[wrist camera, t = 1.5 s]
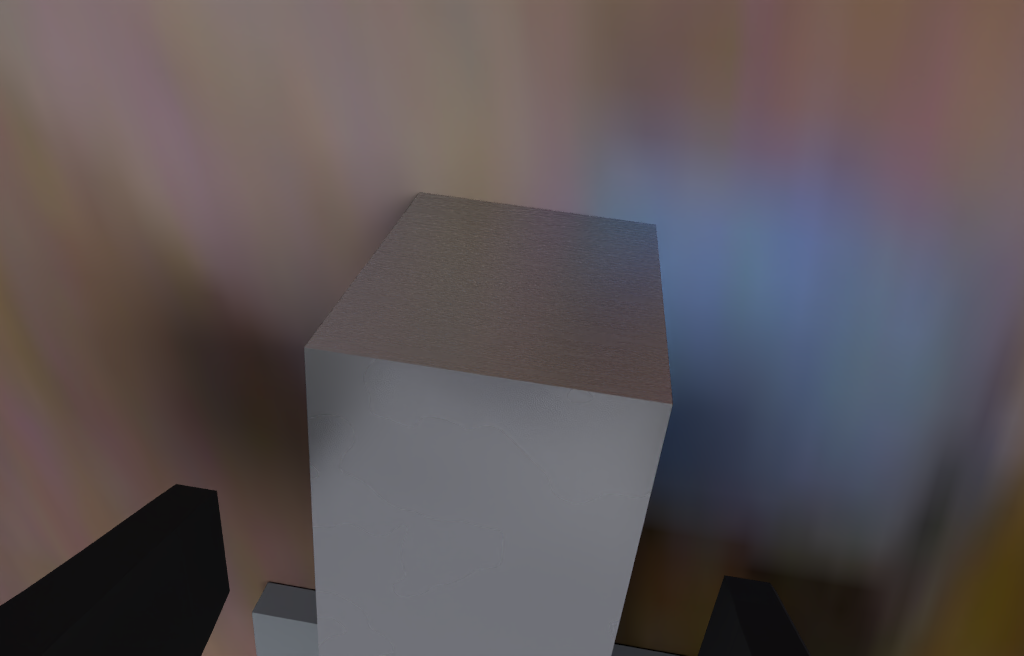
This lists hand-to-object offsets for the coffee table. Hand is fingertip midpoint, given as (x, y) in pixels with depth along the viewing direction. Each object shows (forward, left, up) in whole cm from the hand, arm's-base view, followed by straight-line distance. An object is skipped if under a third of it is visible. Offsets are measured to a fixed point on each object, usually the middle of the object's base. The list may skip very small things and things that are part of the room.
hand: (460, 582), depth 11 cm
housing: (0, 0, -6) cm, 6 cm away
